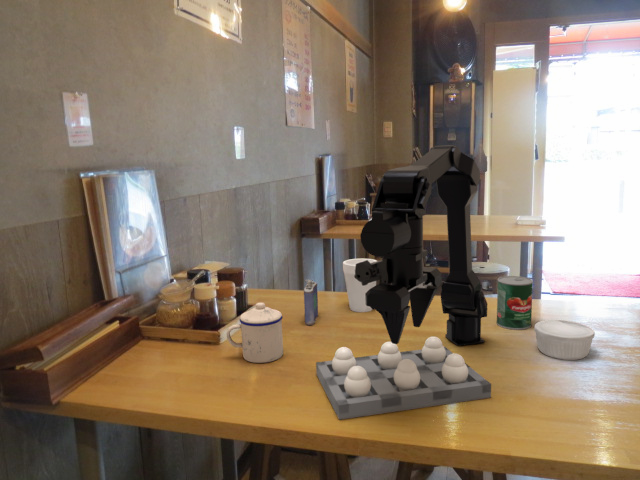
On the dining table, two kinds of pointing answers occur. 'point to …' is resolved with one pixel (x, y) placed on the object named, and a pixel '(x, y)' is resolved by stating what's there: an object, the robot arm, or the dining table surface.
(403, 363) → the cream game piece
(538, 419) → the dining table surface
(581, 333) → the ramekin
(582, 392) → the dining table surface
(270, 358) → the teacup with lid
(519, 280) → the canned tomato
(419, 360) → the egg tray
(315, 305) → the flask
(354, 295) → the foam cup
